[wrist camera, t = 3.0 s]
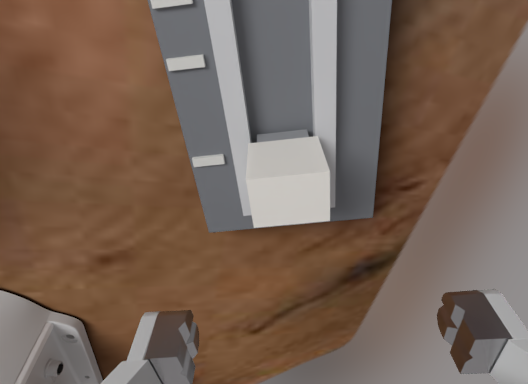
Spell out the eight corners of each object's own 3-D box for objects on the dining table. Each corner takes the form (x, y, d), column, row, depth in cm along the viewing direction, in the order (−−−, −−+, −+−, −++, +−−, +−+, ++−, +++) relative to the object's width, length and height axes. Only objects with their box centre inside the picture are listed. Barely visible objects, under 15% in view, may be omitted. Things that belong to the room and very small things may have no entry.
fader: (316, 171, 22) (330, 221, 17) (254, 177, 22) (253, 228, 18) (315, 128, 20) (330, 171, 16) (248, 135, 20) (245, 179, 16)
